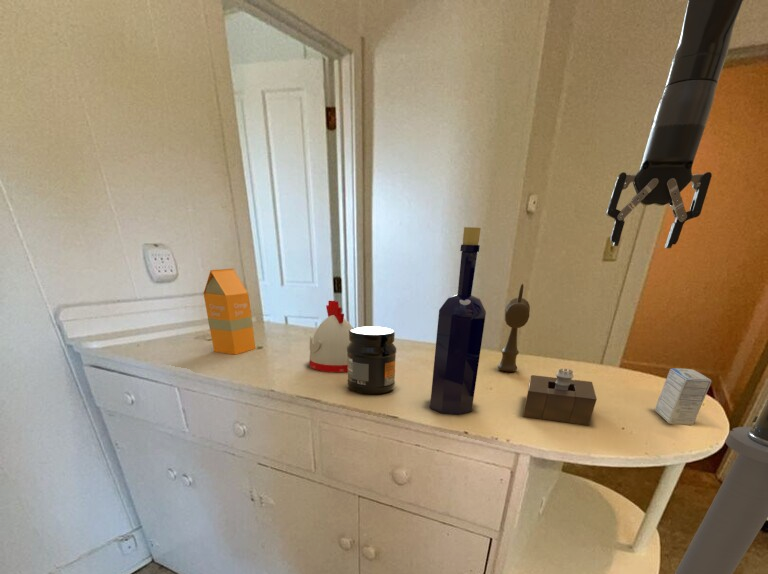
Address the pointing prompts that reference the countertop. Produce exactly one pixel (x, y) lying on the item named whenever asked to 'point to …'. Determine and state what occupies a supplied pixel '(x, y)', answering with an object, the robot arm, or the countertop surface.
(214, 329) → the orange juice
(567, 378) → the rook chess piece
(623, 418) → the countertop surface
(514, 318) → the kendama
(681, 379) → the medicine box
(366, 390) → the supplement container
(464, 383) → the bottle
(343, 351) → the kitchen timer
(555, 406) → the socket block
